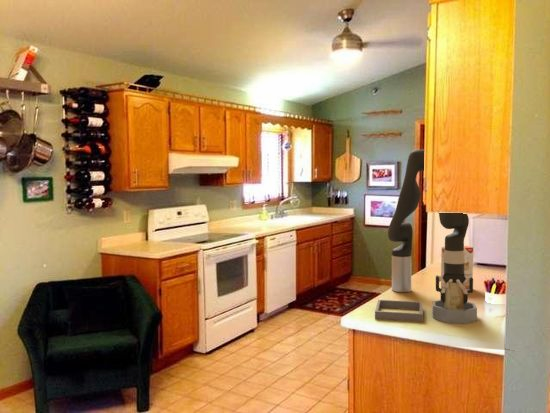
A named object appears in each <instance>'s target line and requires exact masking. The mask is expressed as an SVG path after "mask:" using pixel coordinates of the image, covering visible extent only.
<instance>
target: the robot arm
mask: <svg viewBox="0 0 550 413" xmlns="http://www.w3.org/2000/svg"><path fill="white" fill-rule="evenodd" d="M424 149H425V148H424ZM424 149H414V150H411V152H409V155H408V159H407V162H406V168H405V174H404V179H403V182H402V185H401V186H402V187H401V189H400V192H399V196H398V199H397V204H396V206H395V211H394V213H393V216H392V218H391V221H390V223H389V226H388V230H387V236H388V239H389V241H391V242H395V243H397V242H399V243H400V242H401V244H400V245H399V246H397V247H395V248H393V249H392V250H391V290H392V291H393V292H396V293H409V292H411V291H412V251H413V233H414V231H413V226H412V224H411V222H406V221H405V220H406V219H407V218H408V217H409V216H411V215H412V214H413V212H416V210H417V208H418V206H419V204H420V201H421V197H422V191H421V188H420V187H419V184H418V182H417V176H418V174H419V173H420V172H424ZM438 216H439V223H440V224H441V226H442V227H443V228H444V229H446V230H453V231H452V233H450V234H447V235H445V237H444V247H445V253H444V275H443V276H441V275H438V274H437V275H435V291H436V292H439V293H440V300H441V301H442V302H445V293H444V292H445V290H446V289H447V288H448V283H452V282H453V283H458V284H459V286H460V287H461V289H462V290H463V292H464V304H466V302H469V298H468V296H469V294H473V292H474V278H472V277H465V275H464V262H465V259H464V246H465V237H466V234H467V231H468V227H469V224H470V218H469V215H468V213H467V214H463V213H439V212H438ZM441 279H443V280H444V281H445V282H446V285H445V284H444V285H443V287H442V288H441V287H440V283H441ZM465 280H467V282H468V283H469V289H468V290H466V288H465V287H464V286H463V285H462V284H463V282H464V281H465ZM460 284H461V285H460Z"/></svg>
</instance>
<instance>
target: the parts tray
mask: <svg viewBox="0 0 550 413" xmlns="http://www.w3.org/2000/svg"><path fill="white" fill-rule="evenodd" d="M384 307H386V308H388V309H401V308H404V309H405V310H419V312H418V313H417V312H404V311H403V312H402V311H400V312H399V311H387V310H386V311H383V310H381V308H384ZM423 316H424V314H423V301H408V300H391V299H390V300H389V299H378V300H377V303H376V307H375V309H374V319H375V320H385V319H386V320H387V321H399V322H400V321H402V322H417V323H418V322H419V323H423V321H424V320H423V318H424V317H423Z"/></svg>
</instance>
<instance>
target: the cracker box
mask: <svg viewBox="0 0 550 413" xmlns="http://www.w3.org/2000/svg"><path fill="white" fill-rule="evenodd" d="M440 253H441V255H440V256H441V262H440V276H443V275H444V253H445V246H441V252H440ZM464 259H465V262H464V275H465V277H472V278H473V274H474V273H473V271H474V247H472V246H468V245H464ZM473 279H474V278H473ZM463 283H464V287H465V288H466V290H468V289H469V283H468V282H467V280H465V281H464V282H463ZM444 284H445V281H444V280H443V279H441V281H440V288H442V287H443V285H444Z"/></svg>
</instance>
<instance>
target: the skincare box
mask: <svg viewBox="0 0 550 413" xmlns="http://www.w3.org/2000/svg"><path fill="white" fill-rule="evenodd" d="M445 285H446V282H445ZM460 285H461V284H460ZM462 285H463V286H464V283H463V284H462ZM444 293H445V302H444V308H445V309H452V310H464V292H463V290H462V289H461V287H460V286H459V284H458V283H453V282H452V283H448V288H447V289H446V290H445V292H444Z"/></svg>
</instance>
